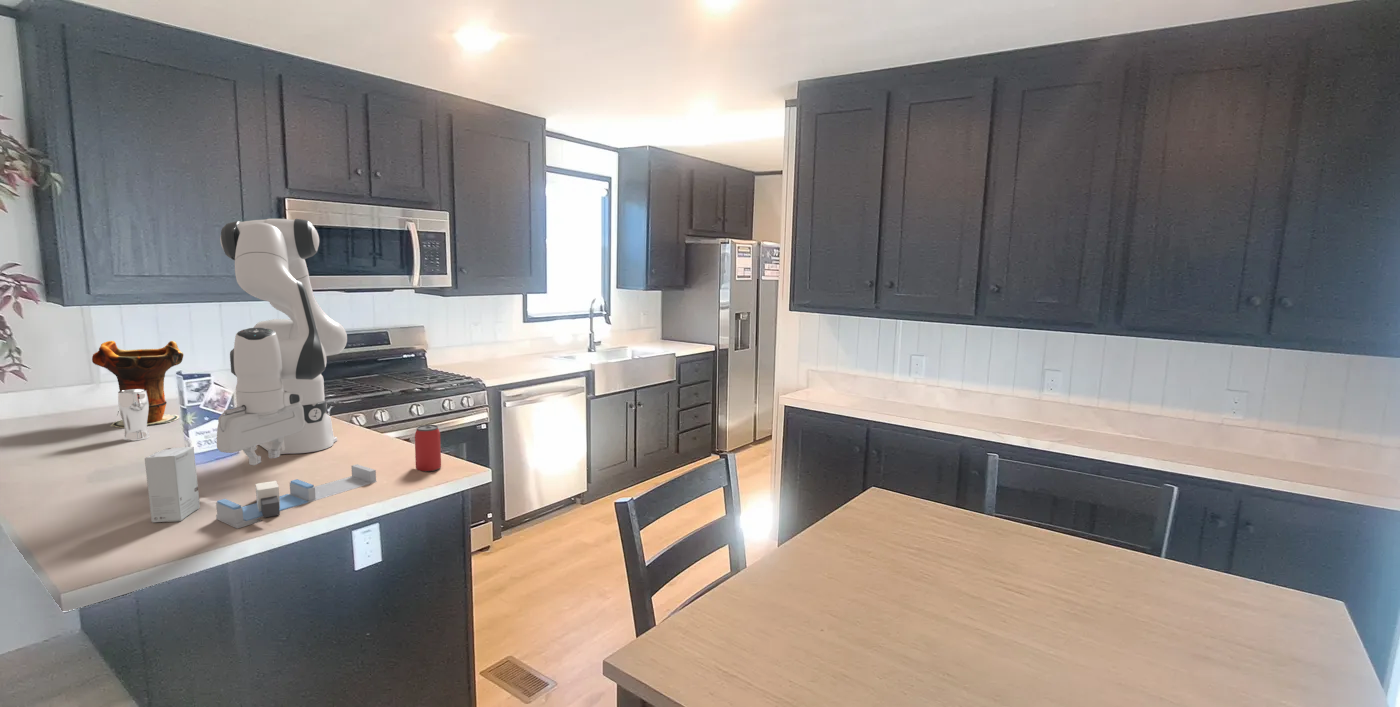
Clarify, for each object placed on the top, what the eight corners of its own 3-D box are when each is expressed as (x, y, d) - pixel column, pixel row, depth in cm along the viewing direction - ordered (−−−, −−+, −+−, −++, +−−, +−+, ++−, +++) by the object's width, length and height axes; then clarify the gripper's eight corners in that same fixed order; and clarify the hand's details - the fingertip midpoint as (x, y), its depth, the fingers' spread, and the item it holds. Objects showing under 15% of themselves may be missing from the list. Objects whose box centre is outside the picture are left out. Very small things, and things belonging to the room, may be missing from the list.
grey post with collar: (255, 498, 152) (253, 478, 151) (275, 495, 154) (274, 475, 154) (260, 518, 141) (259, 496, 140) (282, 514, 144) (281, 492, 143)
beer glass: (155, 437, 200) (151, 390, 198) (126, 442, 194) (121, 394, 192) (146, 434, 204) (142, 387, 202) (118, 438, 198) (113, 391, 196)
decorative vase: (198, 419, 220) (185, 339, 215) (107, 435, 204) (91, 348, 199) (187, 409, 234) (175, 333, 229) (101, 422, 218) (86, 341, 213)
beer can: (445, 465, 183) (444, 424, 181) (433, 473, 177) (432, 431, 175) (423, 464, 184) (422, 423, 182) (411, 471, 177) (409, 429, 175)
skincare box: (181, 521, 141) (175, 456, 139) (149, 523, 139) (142, 457, 137) (201, 507, 149) (195, 445, 147) (171, 508, 148) (165, 446, 145)
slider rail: (216, 519, 143) (214, 499, 142) (356, 478, 171) (355, 462, 170) (237, 528, 138) (235, 508, 138) (377, 485, 166) (376, 468, 166)
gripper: (231, 412, 133) (236, 476, 135) (308, 393, 153) (311, 449, 155) (205, 410, 135) (210, 474, 137) (285, 391, 154) (288, 447, 156)
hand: (264, 460), depth 146 cm, fingers open, 4 cm apart
